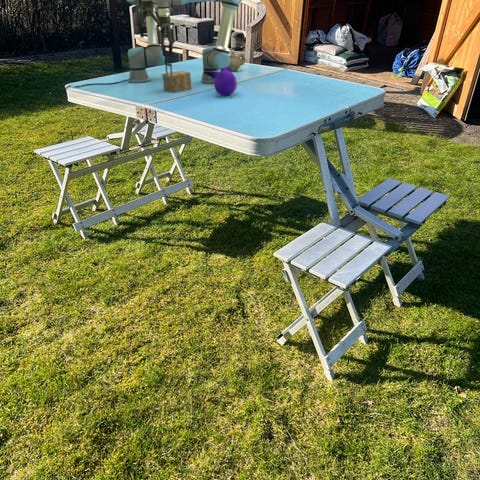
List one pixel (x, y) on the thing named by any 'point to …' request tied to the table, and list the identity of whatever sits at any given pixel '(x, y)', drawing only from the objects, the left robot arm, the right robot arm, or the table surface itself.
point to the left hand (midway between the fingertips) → (150, 36)
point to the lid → (174, 74)
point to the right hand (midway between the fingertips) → (167, 55)
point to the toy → (224, 81)
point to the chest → (177, 83)
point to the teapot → (236, 61)
